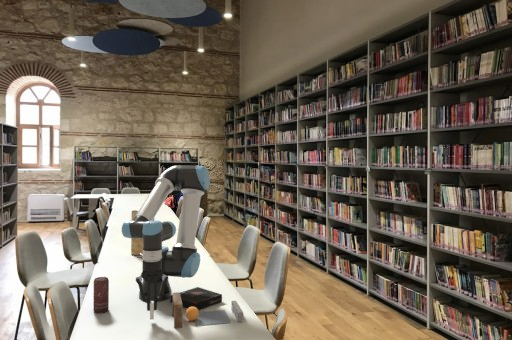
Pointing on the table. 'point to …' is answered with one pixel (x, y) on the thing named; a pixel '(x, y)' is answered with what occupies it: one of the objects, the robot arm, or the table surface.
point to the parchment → (136, 240)
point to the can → (101, 294)
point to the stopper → (237, 311)
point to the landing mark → (212, 318)
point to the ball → (192, 313)
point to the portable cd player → (199, 298)
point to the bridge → (177, 309)
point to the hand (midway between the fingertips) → (151, 318)
